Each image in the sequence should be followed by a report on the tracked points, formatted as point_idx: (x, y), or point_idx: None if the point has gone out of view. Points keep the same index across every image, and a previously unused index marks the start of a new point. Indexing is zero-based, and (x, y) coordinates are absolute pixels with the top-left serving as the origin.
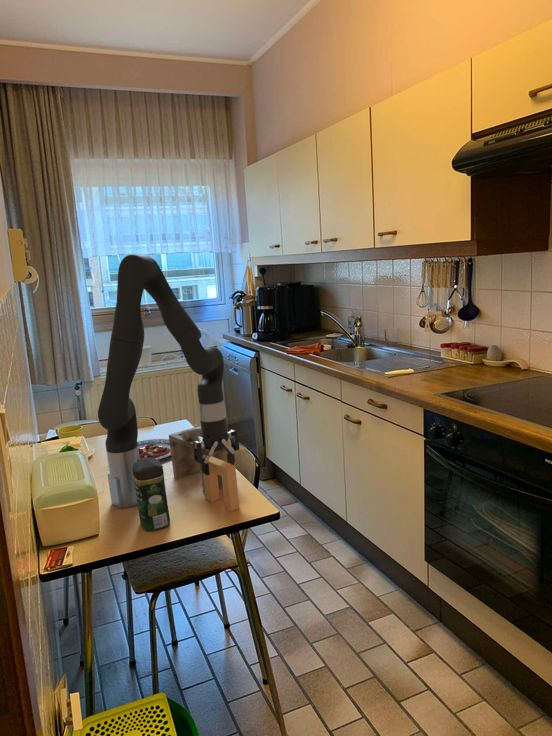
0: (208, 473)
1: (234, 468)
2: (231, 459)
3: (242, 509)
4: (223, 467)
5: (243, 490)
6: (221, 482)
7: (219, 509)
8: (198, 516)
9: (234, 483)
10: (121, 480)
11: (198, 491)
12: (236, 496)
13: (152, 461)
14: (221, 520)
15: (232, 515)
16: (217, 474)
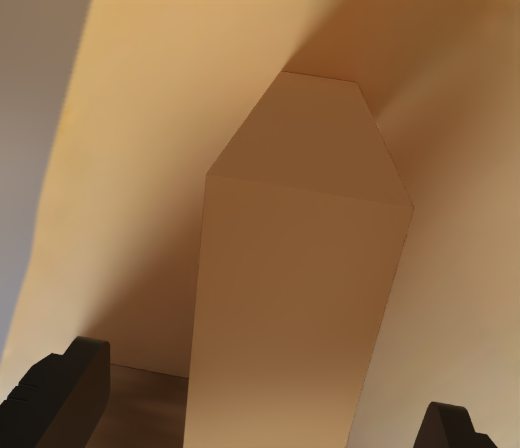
0: (459, 417)
1: (239, 160)
2: (62, 404)
3: (282, 36)
4: (387, 296)
5: (83, 242)
6: (129, 391)
7: None
8: (516, 228)
9: (288, 114)
10: None
11: None
12: (290, 87)
13: None
14: (503, 39)
15: (397, 27)
16: (129, 445)
